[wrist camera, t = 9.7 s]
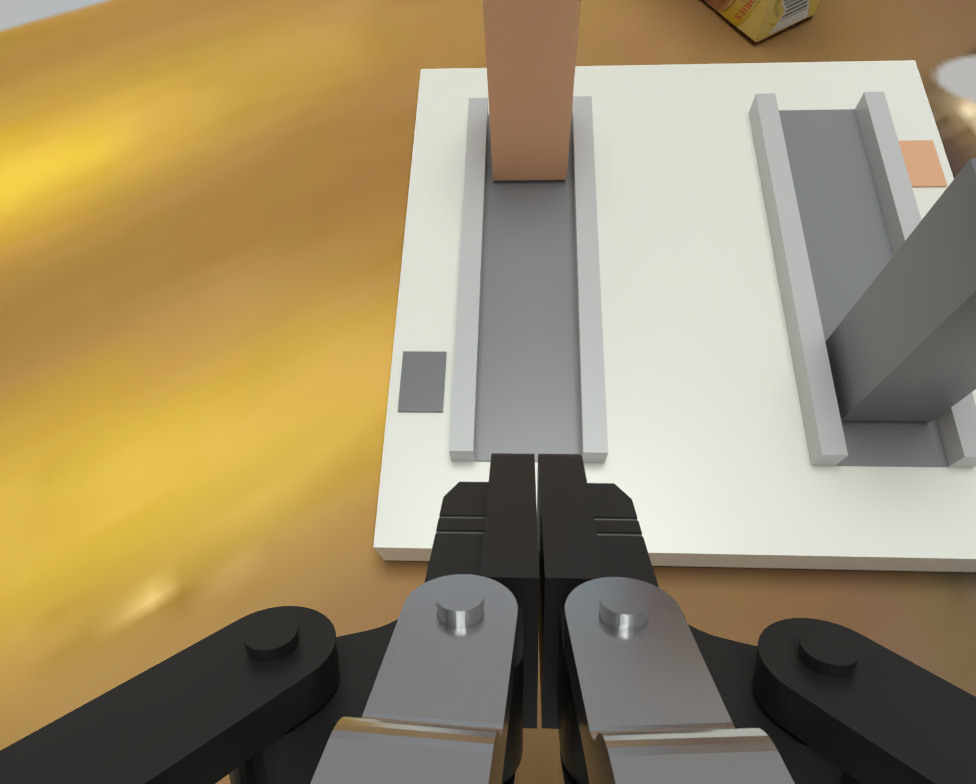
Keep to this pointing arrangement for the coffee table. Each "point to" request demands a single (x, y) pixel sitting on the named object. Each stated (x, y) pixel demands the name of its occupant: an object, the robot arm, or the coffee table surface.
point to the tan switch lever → (530, 85)
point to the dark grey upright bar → (915, 321)
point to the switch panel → (676, 314)
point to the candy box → (764, 14)
